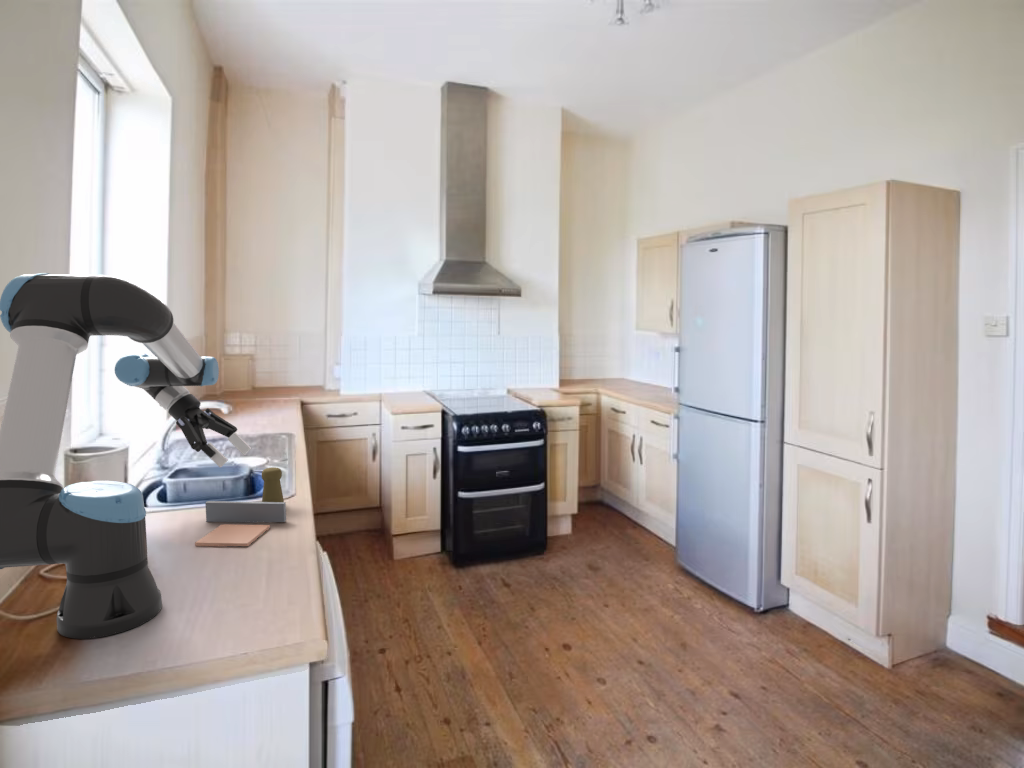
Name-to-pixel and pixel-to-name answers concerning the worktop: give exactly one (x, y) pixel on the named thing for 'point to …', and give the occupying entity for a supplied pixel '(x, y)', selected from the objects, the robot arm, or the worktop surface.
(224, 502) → the low wall
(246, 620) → the worktop surface
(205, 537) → the terracotta tile
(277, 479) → the cork
